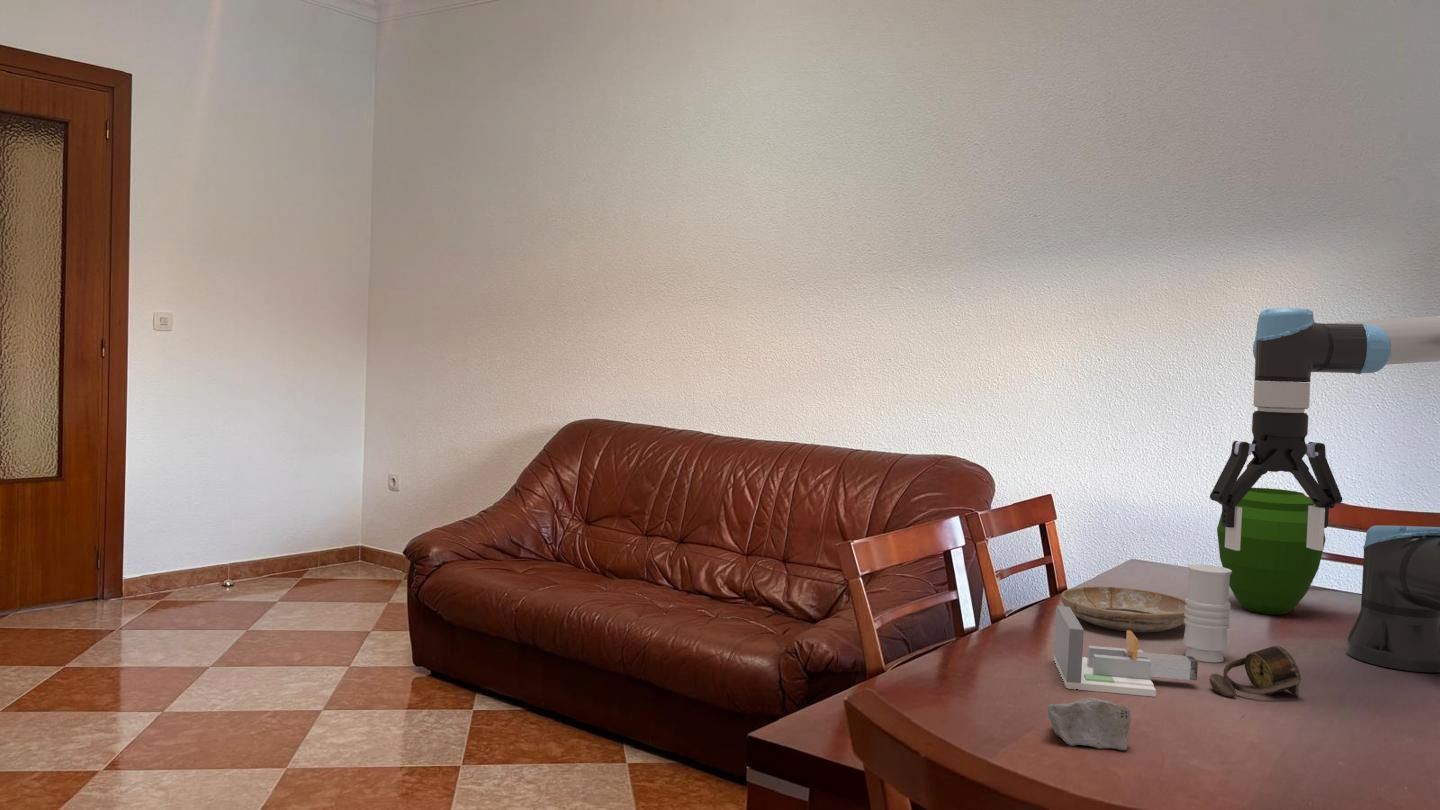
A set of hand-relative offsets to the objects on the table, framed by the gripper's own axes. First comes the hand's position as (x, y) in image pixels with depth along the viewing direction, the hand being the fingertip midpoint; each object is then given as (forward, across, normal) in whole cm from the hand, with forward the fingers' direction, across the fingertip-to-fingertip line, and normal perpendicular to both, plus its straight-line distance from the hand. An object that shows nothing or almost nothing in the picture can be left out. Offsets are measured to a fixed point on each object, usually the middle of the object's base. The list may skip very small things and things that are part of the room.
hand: (1273, 549), depth 160 cm
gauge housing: (+21, +25, -3) cm, 33 cm away
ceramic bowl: (+21, +4, -36) cm, 42 cm away
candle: (+21, +1, -15) cm, 26 cm away
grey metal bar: (+19, +18, 0) cm, 26 cm away
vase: (+22, -33, -48) cm, 62 cm away
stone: (+21, +40, +22) cm, 51 cm away
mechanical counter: (+21, +5, +3) cm, 22 cm away
